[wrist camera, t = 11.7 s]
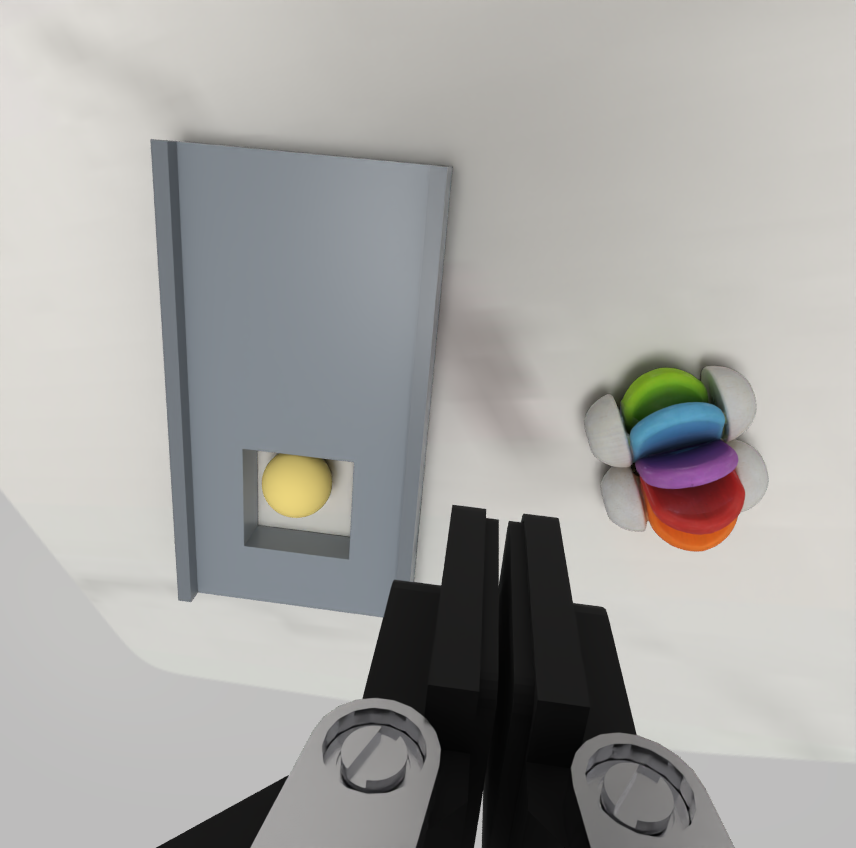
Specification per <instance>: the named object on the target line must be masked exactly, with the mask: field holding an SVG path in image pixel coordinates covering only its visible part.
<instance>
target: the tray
mask: <svg viewBox="0 0 856 848" xmlns="http://www.w3.org/2000/svg"><path fill="white" fill-rule="evenodd" d="M151 155H152V172H153V188H154V205H155V221H156V238H157V254H158V271H159V288H160V304H161V321H162V337H163V354H164V370H165V387H166V403H167V420H168V436H169V453H170V470H171V486H172V503H173V519H174V536H175V552H176V569H177V585H178V600H180V601H187V602H192V600H193V599H194V597H195V596H196V594H197V593H198V592H199V593H206V594H214V595H221V596H229V597H236V598H243V599H251V600H258V601H265V602H273V603H280V604H288V605H295V606H302V607H310V608H317V609H325V610H332V611H339V612H347V613H354V614H362V615H369V616H376V617H384V613H385V609H386V605H387V601H388V597H389V593H390V589H391V586H392V582H393V580H402V581H409V582H414V575H415V564H416V553H417V543H418V532H419V521H420V511H421V500H422V489H423V479H424V468H425V457H426V446H427V436H428V425H429V414H430V404H431V393H432V382H433V372H434V361H435V350H436V340H437V329H438V318H439V307H440V297H441V286H442V275H443V265H444V254H445V243H446V233H447V222H448V211H449V200H450V190H451V179H452V168H453V167H449V166H438V165H427V164H417V163H406V162H395V161H385V160H374V159H363V158H353V157H342V156H331V155H321V154H310V153H299V152H289V151H278V150H267V149H257V148H246V147H235V146H225V145H214V144H203V143H193V142H182V141H168V140H154V139H151ZM257 450H258V451H266V452H274V453H282V454H290V455H299V456H307V457H315V458H323V459H332V460H340V461H348V462H354V472H353V492H352V512H351V532H350V537H345V536H337V535H330V534H322V533H314V532H306V531H299V530H291V529H283V528H275V527H267V526H260V525H258V469H257Z"/></svg>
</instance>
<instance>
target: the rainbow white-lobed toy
mask: <svg viewBox="0 0 856 848" xmlns="http://www.w3.org/2000/svg"><path fill="white" fill-rule="evenodd" d="M755 414H756V400H755V395H754V392H753V390H752V387H751V385H750V383H749V382H748V380H747V379H746V378H745V377H744V376H742V375H741V374H740V373H738V372H736V371H735V370H733V369H730V368H727V367H722V366H707V367H705V368H703V370H702V372H701V381H700V380H698V379H697V378H695V377H694V376H693V375H691V374H689V373H687V372H685V371H682V370H679V369H675V368H658V369H655V370H652V371H649V372H647V373H645V374H643V375H641V376H640V377H639V378H637V379H636V380H635V381H634V382H633V383H632V384H631V385H630V387H629V388H628V390H627V391H626V393H625V395H624V397H623V399H622V400H621V404H620V410H619V409H618V407H617V404H616V402H615V400H614V398H613V396H612V395H611V394H607V395H605V396H603V397H601V398H600V399H598V400H597V401H596V402H595V403H594V404H593V405H592V406H591V407H590V409H589V410H588V412H587V414H586V416H585V420H584V425H585V430H586V434H587V438H588V441H589V445H590V448H591V451H592V453H593V455H594V456H595V457H596V458H597V459H599V460H600V461H602V462H603V463H605V464H607V465H610V466H612V467H611V468H610V469H609V470H608V471H607V472H606V474H605V475H604V477H603V479H602V482H601V491H602V496H603V500H604V504H605V508H606V511H607V515H608V517H609V519H610V520H611V521H612V522H614V523H615V524H616V525H618V526H619V527H621V528H624V529H626V530H630V531H637V532H642V531H644V530H645V529H646V524H647V521H649V522H650V524H651V526H652V528H653V530H654V531H655V532H656V533H657V534H658V536H660V537H661V538H662V539H663V540H664V541H666V542H667V543H669V544H670V545H672V546H674V547H677V548H680V549H683V550H687V551H705V550H708V549H710V548H712V547H715V546H716V545H718V544H720V543H721V542H722V541H723V540H725V539H726V538H727V536H728V535H729V534H730V533H731V531H732V530H733V528H734V526H735V524H736V521H737V517H738V515H739V514H740V512H743V511H746V510H748V509H750V508H752V507H753V506H755V505H756V504H757V503H758V502H759V501H760V500H761V499H762V497H763V496H764V494H765V492H766V490H767V487H768V482H769V480H768V472H767V468H766V465H765V462H764V460H763V458H762V456H761V455H760V453H759V452H758V451H757V450H756V449H755V448H753V447H752V446H750V445H749V444H747V443H745V442H742V441H739V440H735V439H736V438H737V437H739V436H740V435H742V434H743V433H744V432H745V431H746V430H747V429H748V428H749V426H750V425H751V423H752V422H753V419H754V417H755ZM634 462H635V466H636V471H635V472H633V471H632V469H631V464H632V463H634Z"/></svg>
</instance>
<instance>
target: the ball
mask: <svg viewBox="0 0 856 848" xmlns="http://www.w3.org/2000/svg"><path fill="white" fill-rule="evenodd" d="M331 489H332V476H331V472H330V470H329V467H328V465H327V464H326V462H325V461H324V460H323V459H322V458H315V457H307V456H299V455H290V454H282V453H279V454H278V455H276V456H275V457H274V458H273V459H272V460H271V461H270V462H269V463H268V465H267V466H266V468H265V470H264V473H263V477H262V490H263V494H264V497H265V499H266V501H267V502H268V504H269V505H270V506H271V507H272V508H273V509H274V510H275V511H276V512H278V513H280V514H282V515H284V516H287V517H292V518H300V517H306V516H309V515H311V514H313V513H315V512H317V511H318V510H319V509H320V508H321V507H323V505H324V504H325V503H326V501H327V500H328V498H329V496H330V493H331Z"/></svg>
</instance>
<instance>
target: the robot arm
mask: <svg viewBox="0 0 856 848" xmlns="http://www.w3.org/2000/svg"><path fill="white" fill-rule="evenodd" d="M482 794H483V821H482V823H483V824H482V848H735V847H734V845H733V843H732V841H731V839H730V837H729V835H728V833H727V831H726V829H725V827H724V825H723V823H722V821H721V819H720V817H719V815H718V813H717V811H716V809H715V807H714V805H713V803H712V801H711V799H710V797H709V795H708V793H707V791H706V789H705V787H704V785H703V784H702V783H701V781H700V779H699V778H698V777H697V775H696V773H695V772H694V770H693V769H692V768H690V767H689V766H688V765H687V764H686V763H685V762H684V761H683V760H682V759H681V758H680V757H679V756H678V755H676V754H675V753H673V752H672V751H670V750H669V749H667V748H665V747H664V746H662V745H661V744H659V743H657V742H654V741H651V740H649V739H646V738H644V737H641V736H638V735H636V730H635V726H634V722H633V718H632V714H631V710H630V706H629V701H628V697H627V693H626V689H625V685H624V681H623V676H622V672H621V668H620V664H619V660H618V656H617V651H616V647H615V643H614V639H613V635H612V631H611V626H610V622H609V618H608V615H607V612H606V609H605V608H603V607H599V606H592V605H584V604H576V603H573V601H572V595H571V589H570V583H569V577H568V571H567V565H566V559H565V553H564V547H563V541H562V535H561V529H560V523H559V519H558V518H554V517H546V516H538V515H530V514H523V516H522V520H521V522H513V521H509V523H508V528H507V534H506V541H505V548H504V555H503V561H502V568H501V575H500V581H499V520H497V519H489V518H486V509H482V508H474V507H465V506H457V505H452V512H451V519H450V527H449V534H448V541H447V548H446V556H445V563H444V570H443V577H442V585H441V586H440V585H432V584H425V583H417V582H409V581H402V580H393V582H392V586H391V589H390V593H389V597H388V601H387V605H386V609H385V613H384V617H383V621H382V624H381V628H380V632H379V636H378V640H377V644H376V648H375V652H374V656H373V660H372V663H371V667H370V671H369V675H368V679H367V683H366V687H365V691H364V695H363V699H359V700H354V701H352V702H349V703H346V704H343V705H340V706H338V707H337V708H335V709H334V710H332V711H331V712H329V713H328V714H327V715H325V716H324V717H323V718H322V720H321V721H320V722H319V723H318V725H317V726H316V727H315V728H314V730H313V731H312V733H311V735H310V737H309V739H308V741H307V743H306V744H305V746H304V748H303V750H302V752H301V754H300V756H299V757H298V759H297V761H296V763H295V765H294V767H293V769H292V771H291V772H290V774H289V775H288V776H286V777H284V778H283V779H281V780H279V781H277V782H275V783H273V784H272V785H270V786H268V787H266V788H264V789H262V790H261V791H259V792H257V793H255V794H253V795H251V796H250V797H248V798H246V799H244V800H242V801H240V802H239V803H237V804H235V805H233V806H231V807H229V808H228V809H226V810H224V811H222V812H221V813H219V814H217V815H215V816H213V817H211V818H209V819H208V820H206V821H204V822H202V823H200V824H199V825H197V826H195V827H193V828H191V829H189V830H188V831H186V832H184V833H182V834H180V835H178V836H177V837H175V838H173V839H171V840H169V841H168V842H166V843H164V844H162V845H160V846H158V847H156V848H474V844H475V837H476V831H477V825H478V819H479V813H480V807H481V800H482Z"/></svg>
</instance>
